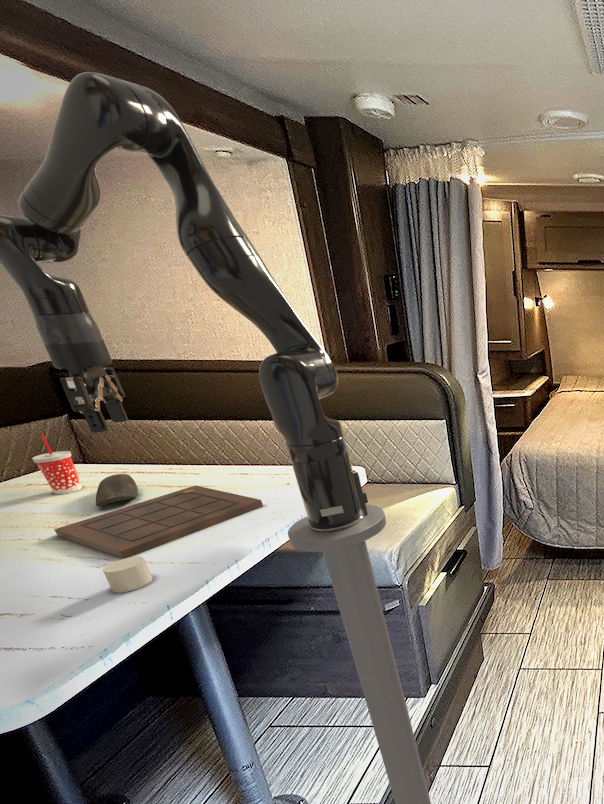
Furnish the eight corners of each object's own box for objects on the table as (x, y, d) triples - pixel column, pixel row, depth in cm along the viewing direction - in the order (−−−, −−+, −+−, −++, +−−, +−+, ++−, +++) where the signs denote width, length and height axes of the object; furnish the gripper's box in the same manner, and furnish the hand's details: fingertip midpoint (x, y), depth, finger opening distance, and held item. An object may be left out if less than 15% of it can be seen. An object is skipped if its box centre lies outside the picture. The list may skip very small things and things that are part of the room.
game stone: (143, 573, 84) (134, 554, 83) (159, 579, 82) (150, 559, 81) (105, 589, 80) (95, 568, 78) (122, 595, 78) (112, 574, 77)
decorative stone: (138, 504, 111) (130, 487, 110) (97, 513, 107) (89, 495, 106) (141, 483, 123) (134, 467, 122) (104, 490, 119) (97, 474, 118)
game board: (197, 491, 118) (195, 484, 118) (263, 506, 109) (260, 499, 109) (57, 536, 98) (53, 528, 97) (124, 558, 89) (120, 550, 88)
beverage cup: (58, 488, 122) (31, 432, 116) (91, 483, 124) (66, 429, 119) (43, 497, 116) (14, 439, 111) (78, 492, 119) (52, 435, 114)
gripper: (81, 341, 86) (120, 432, 92) (118, 335, 98) (150, 416, 104) (21, 345, 83) (65, 438, 89) (66, 338, 95) (102, 421, 101)
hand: (111, 426), depth 97 cm, fingers open, 8 cm apart
